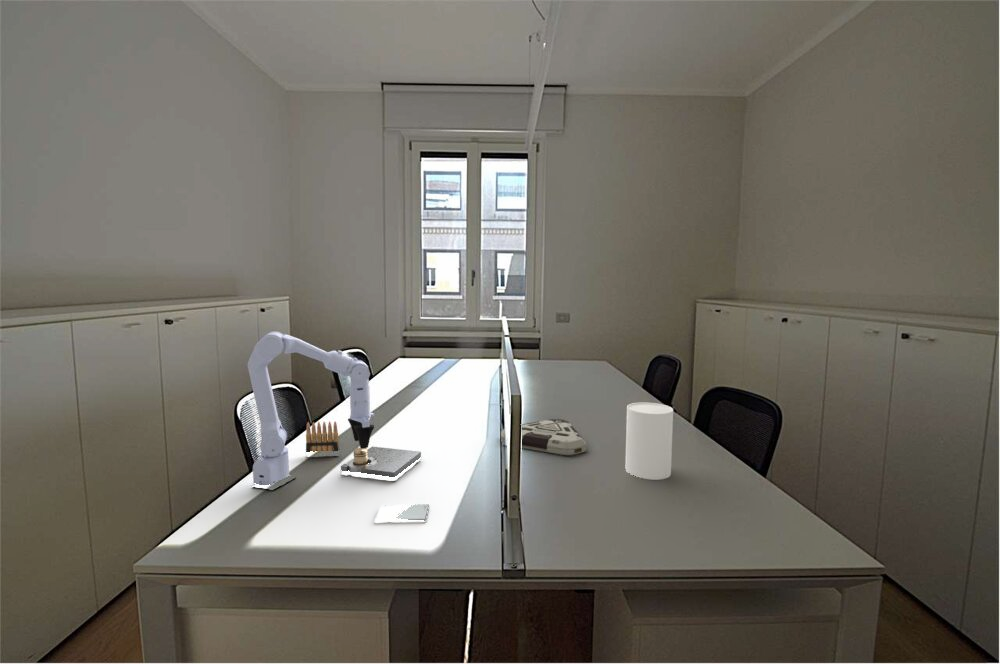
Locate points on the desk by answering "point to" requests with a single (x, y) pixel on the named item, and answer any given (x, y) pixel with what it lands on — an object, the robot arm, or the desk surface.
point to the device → (551, 437)
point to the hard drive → (415, 512)
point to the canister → (649, 440)
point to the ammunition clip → (322, 438)
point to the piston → (360, 456)
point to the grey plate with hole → (384, 461)
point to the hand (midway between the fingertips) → (361, 444)
